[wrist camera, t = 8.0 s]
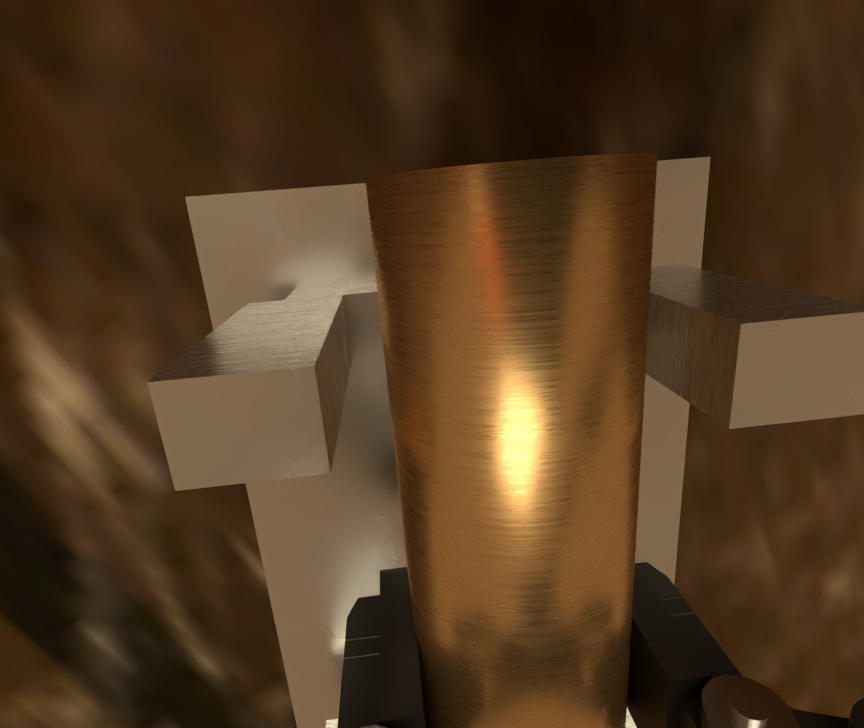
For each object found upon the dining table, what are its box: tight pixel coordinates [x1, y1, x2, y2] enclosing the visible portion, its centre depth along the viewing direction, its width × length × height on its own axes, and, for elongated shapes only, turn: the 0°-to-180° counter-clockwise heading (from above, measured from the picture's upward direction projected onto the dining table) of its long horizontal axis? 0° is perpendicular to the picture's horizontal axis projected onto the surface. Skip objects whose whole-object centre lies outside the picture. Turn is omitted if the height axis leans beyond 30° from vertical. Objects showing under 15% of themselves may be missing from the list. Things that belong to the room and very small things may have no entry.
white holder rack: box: [147, 157, 864, 728], centre depth 12 cm, size 18×12×7 cm, turn 4°
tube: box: [365, 153, 658, 728], centre depth 10 cm, size 19×4×4 cm, turn 4°
